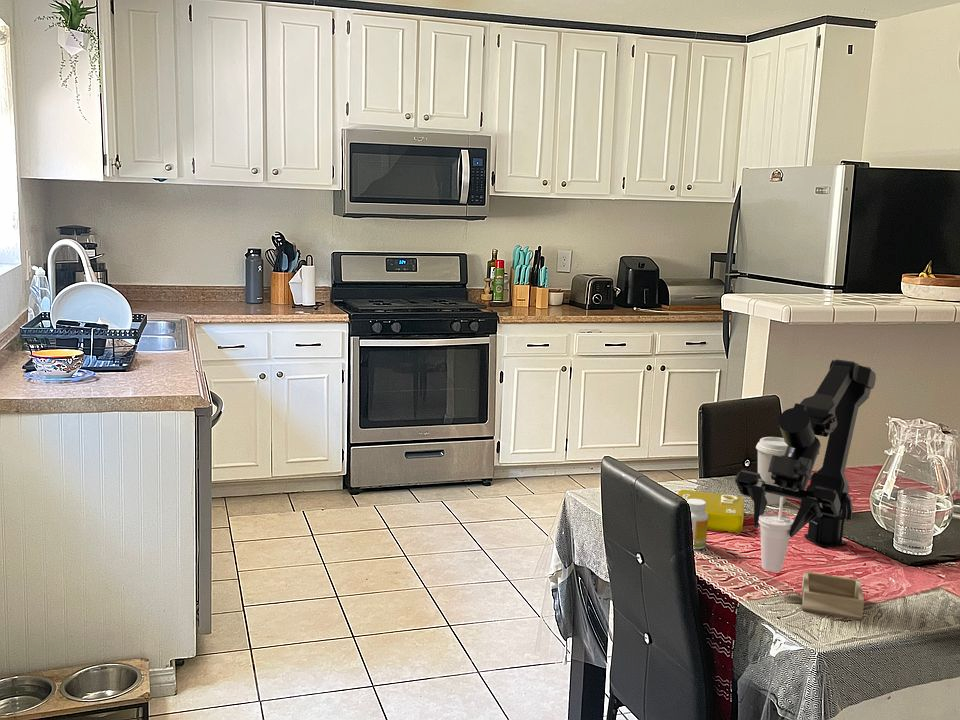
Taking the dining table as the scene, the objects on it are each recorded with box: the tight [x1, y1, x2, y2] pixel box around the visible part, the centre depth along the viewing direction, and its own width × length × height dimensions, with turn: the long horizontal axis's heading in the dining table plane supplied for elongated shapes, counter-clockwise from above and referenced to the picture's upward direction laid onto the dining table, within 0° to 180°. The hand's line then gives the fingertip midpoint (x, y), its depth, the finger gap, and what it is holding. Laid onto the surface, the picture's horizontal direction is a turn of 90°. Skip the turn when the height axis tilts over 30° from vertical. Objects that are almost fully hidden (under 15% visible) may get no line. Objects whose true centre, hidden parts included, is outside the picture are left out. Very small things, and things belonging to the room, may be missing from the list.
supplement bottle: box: [687, 499, 708, 550], centre depth 195 cm, size 5×5×10 cm
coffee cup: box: [755, 436, 788, 506], centre depth 225 cm, size 10×10×15 cm
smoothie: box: [758, 497, 795, 573], centre depth 172 cm, size 6×6×14 cm
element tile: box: [677, 489, 745, 533], centre depth 212 cm, size 15×15×5 cm
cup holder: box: [801, 570, 865, 621], centre depth 170 cm, size 10×10×4 cm
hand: (772, 531), depth 171 cm, fingers closed on smoothie, 6 cm apart
